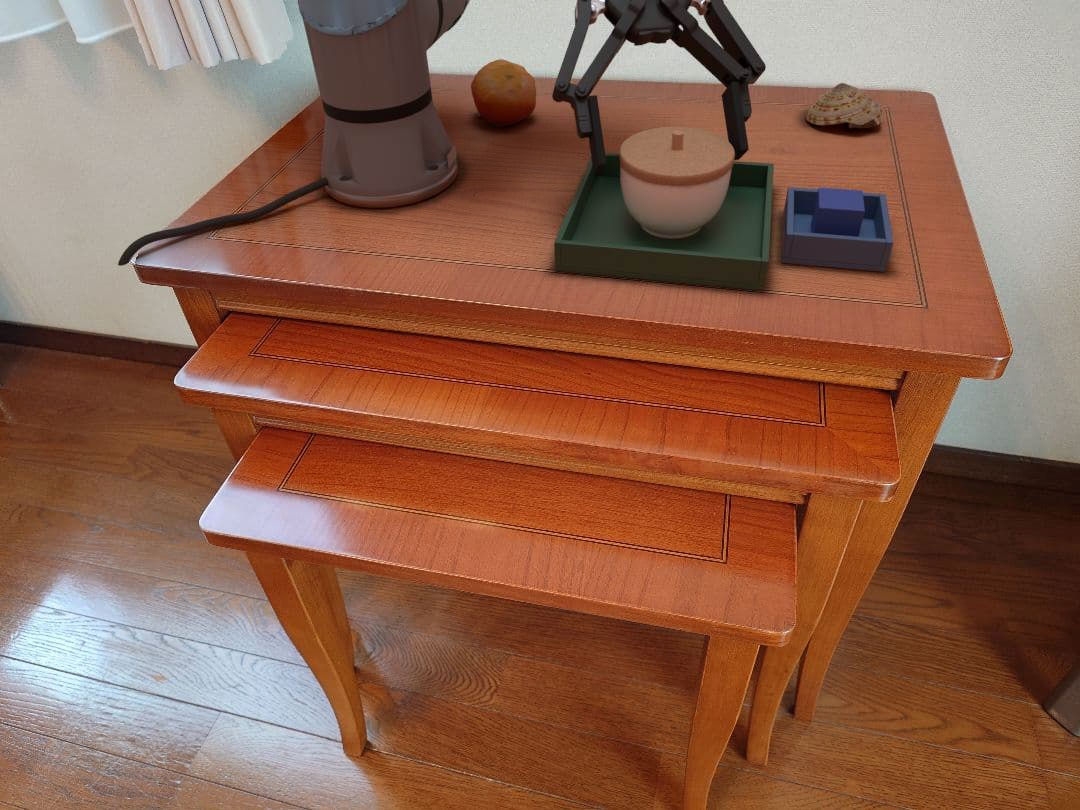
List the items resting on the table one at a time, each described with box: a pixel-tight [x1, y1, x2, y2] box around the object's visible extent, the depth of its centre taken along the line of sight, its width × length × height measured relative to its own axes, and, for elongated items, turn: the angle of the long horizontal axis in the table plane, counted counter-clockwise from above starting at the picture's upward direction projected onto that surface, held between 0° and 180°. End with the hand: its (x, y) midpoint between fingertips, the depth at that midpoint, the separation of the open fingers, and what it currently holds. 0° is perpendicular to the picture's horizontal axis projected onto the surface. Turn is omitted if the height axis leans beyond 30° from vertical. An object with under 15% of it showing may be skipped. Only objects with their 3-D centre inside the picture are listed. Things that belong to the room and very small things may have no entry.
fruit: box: [470, 58, 537, 128], centre depth 100 cm, size 8×8×8 cm
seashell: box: [805, 82, 884, 129], centre depth 97 cm, size 8×6×8 cm
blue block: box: [811, 187, 865, 237], centre depth 76 cm, size 4×4×4 cm
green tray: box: [553, 152, 775, 292], centre depth 80 cm, size 19×19×3 cm
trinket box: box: [618, 126, 735, 239], centre depth 77 cm, size 11×11×9 cm
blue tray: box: [781, 186, 894, 273], centre depth 76 cm, size 9×9×3 cm
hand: (670, 162), depth 75 cm, fingers open, 13 cm apart
